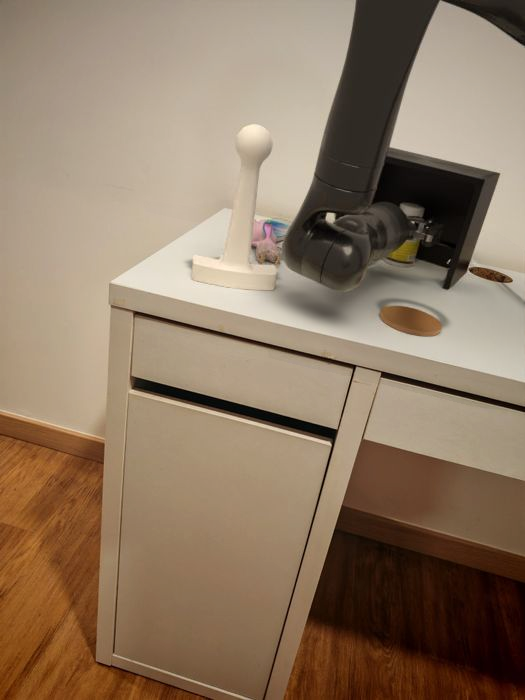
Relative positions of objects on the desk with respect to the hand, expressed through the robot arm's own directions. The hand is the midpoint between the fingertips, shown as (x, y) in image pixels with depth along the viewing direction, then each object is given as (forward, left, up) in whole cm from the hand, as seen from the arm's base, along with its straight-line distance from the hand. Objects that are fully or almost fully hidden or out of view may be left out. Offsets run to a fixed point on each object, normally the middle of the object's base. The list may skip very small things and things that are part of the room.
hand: (407, 217), depth 95 cm
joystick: (+28, +17, -8) cm, 34 cm away
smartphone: (+20, -8, -8) cm, 23 cm away
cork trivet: (+5, +25, -8) cm, 27 cm away
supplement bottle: (-1, -1, -8) cm, 8 cm away
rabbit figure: (+23, +3, -8) cm, 25 cm away
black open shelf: (-1, -1, -8) cm, 8 cm away
